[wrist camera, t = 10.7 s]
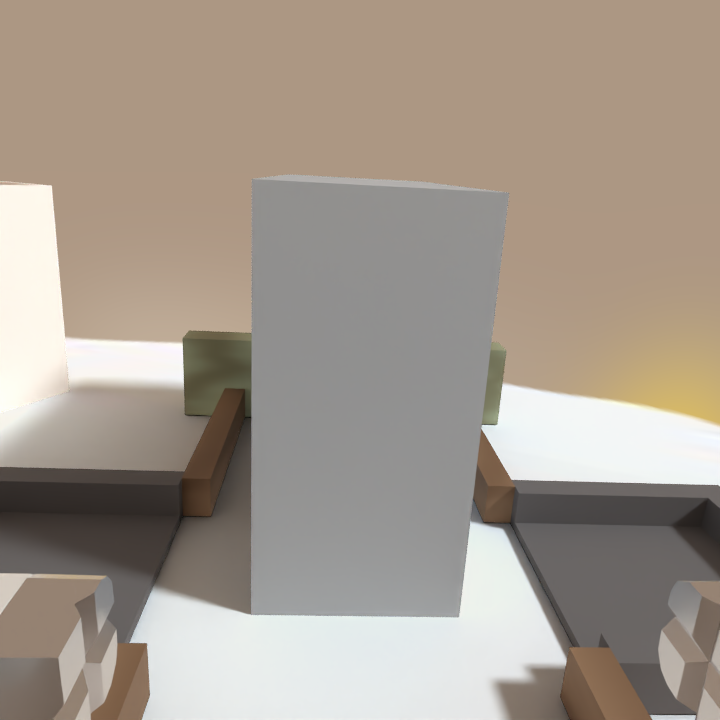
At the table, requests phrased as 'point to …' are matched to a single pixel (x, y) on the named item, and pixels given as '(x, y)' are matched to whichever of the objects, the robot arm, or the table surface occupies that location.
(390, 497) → the slate block
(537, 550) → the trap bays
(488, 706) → the table surface
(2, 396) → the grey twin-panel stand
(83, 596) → the robot arm
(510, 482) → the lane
